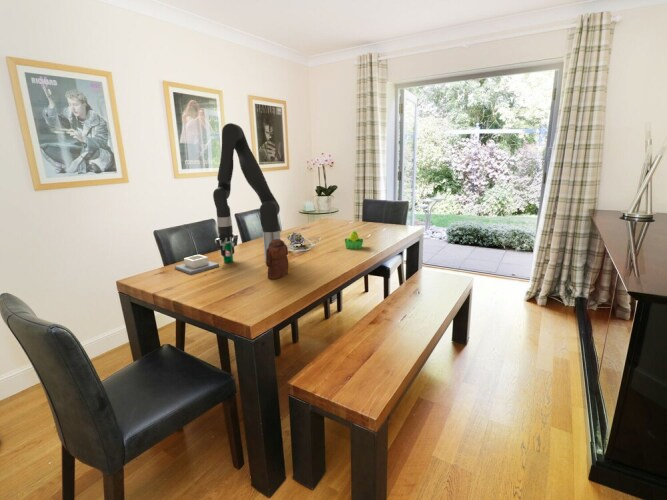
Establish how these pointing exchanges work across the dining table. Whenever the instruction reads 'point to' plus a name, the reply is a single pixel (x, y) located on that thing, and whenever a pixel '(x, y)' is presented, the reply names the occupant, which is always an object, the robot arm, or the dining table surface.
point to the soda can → (228, 252)
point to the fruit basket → (353, 241)
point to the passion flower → (296, 238)
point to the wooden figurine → (277, 259)
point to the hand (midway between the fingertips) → (228, 255)
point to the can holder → (196, 264)
